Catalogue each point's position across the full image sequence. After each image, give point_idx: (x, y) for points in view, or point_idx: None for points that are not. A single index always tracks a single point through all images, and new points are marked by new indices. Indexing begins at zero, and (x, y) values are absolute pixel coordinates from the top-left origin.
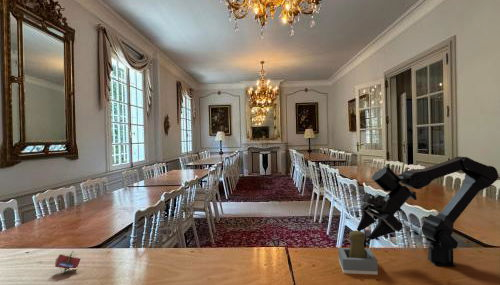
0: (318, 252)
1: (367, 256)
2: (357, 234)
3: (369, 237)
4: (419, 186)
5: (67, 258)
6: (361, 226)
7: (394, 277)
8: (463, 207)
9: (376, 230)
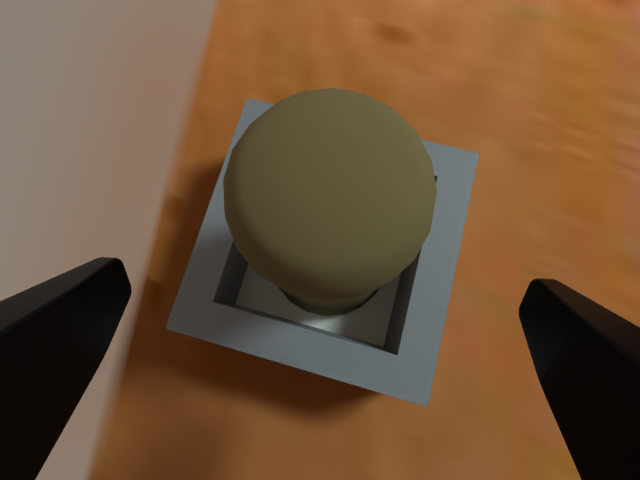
0: (589, 113)
1: (349, 339)
2: (240, 143)
3: (96, 260)
4: None
5: None
6: (574, 362)
7: (147, 406)
8: None
9: None
